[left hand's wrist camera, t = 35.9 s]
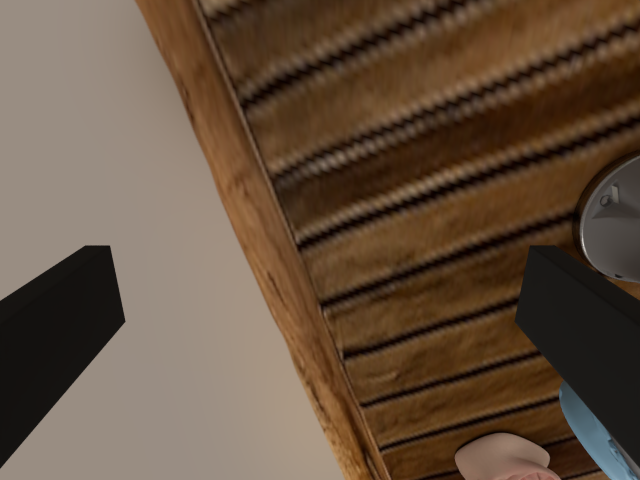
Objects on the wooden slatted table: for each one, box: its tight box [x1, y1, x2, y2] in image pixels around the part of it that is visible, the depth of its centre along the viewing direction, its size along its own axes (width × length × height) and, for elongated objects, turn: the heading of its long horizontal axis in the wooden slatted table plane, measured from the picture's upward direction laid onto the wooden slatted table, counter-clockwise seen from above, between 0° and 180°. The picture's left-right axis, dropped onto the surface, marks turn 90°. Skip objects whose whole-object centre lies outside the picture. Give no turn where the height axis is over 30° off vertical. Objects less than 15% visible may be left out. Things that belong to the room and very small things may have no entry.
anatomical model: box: [455, 433, 561, 480], centre depth 57 cm, size 13×4×12 cm
